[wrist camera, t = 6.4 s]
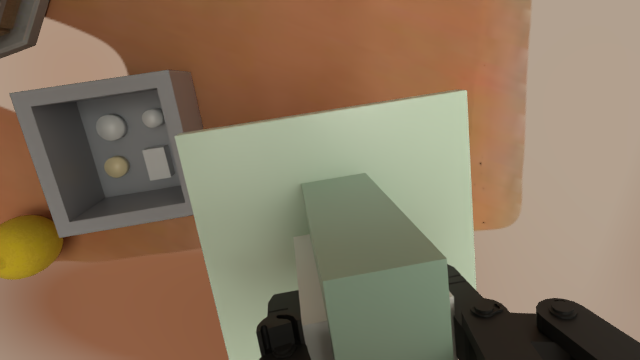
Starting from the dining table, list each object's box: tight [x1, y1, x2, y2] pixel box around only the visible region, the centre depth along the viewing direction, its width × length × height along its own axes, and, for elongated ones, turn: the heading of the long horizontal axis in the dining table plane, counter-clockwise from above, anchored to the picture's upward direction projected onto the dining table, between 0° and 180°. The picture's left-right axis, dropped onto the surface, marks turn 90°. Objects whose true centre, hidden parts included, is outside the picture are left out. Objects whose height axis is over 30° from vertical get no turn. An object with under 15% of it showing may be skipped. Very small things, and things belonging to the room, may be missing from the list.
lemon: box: [0, 215, 63, 279], centre depth 37 cm, size 6×6×8 cm
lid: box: [174, 90, 476, 360], centre depth 15 cm, size 13×13×11 cm
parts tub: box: [10, 70, 204, 238], centre depth 35 cm, size 12×12×8 cm
